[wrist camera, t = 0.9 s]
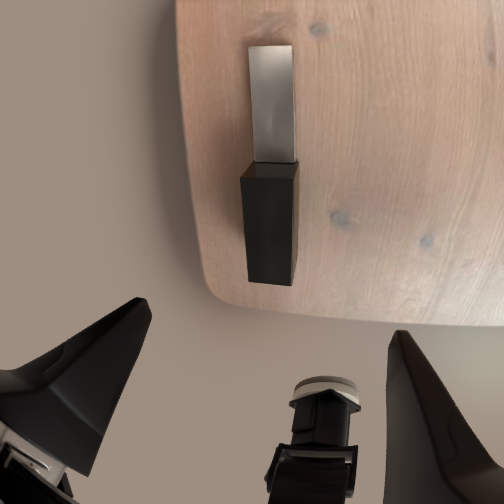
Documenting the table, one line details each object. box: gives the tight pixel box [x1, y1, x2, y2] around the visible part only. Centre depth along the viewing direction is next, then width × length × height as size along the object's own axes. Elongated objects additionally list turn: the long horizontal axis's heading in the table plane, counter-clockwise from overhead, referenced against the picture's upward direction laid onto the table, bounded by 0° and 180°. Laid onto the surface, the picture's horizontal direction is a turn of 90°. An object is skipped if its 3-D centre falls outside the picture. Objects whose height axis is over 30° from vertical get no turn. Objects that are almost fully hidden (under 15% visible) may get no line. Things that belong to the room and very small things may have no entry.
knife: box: [240, 45, 299, 286], centre depth 16 cm, size 14×3×3 cm, turn 3°
